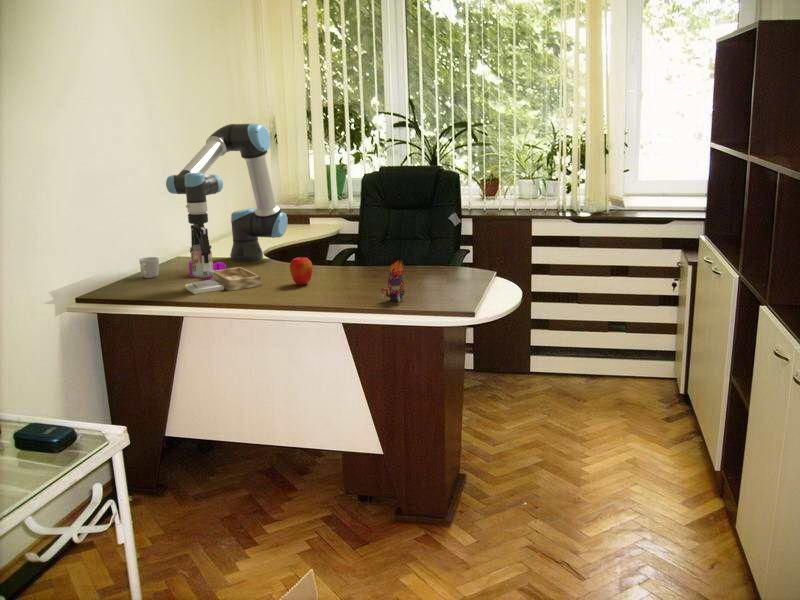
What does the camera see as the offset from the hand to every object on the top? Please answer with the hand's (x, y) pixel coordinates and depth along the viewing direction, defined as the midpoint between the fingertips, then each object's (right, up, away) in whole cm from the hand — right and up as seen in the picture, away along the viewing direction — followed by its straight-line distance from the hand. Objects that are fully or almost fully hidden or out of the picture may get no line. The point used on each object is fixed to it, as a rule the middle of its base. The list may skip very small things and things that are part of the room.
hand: (202, 268), depth 313 cm
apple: (+39, -6, +5) cm, 40 cm away
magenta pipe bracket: (-5, -2, +26) cm, 27 cm away
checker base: (0, -8, +2) cm, 8 cm away
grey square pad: (0, -6, +2) cm, 7 cm away
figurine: (+76, -13, -24) cm, 81 cm away
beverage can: (0, -3, +1) cm, 3 cm away
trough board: (+11, -5, +11) cm, 16 cm away
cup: (-29, -3, +25) cm, 38 cm away
